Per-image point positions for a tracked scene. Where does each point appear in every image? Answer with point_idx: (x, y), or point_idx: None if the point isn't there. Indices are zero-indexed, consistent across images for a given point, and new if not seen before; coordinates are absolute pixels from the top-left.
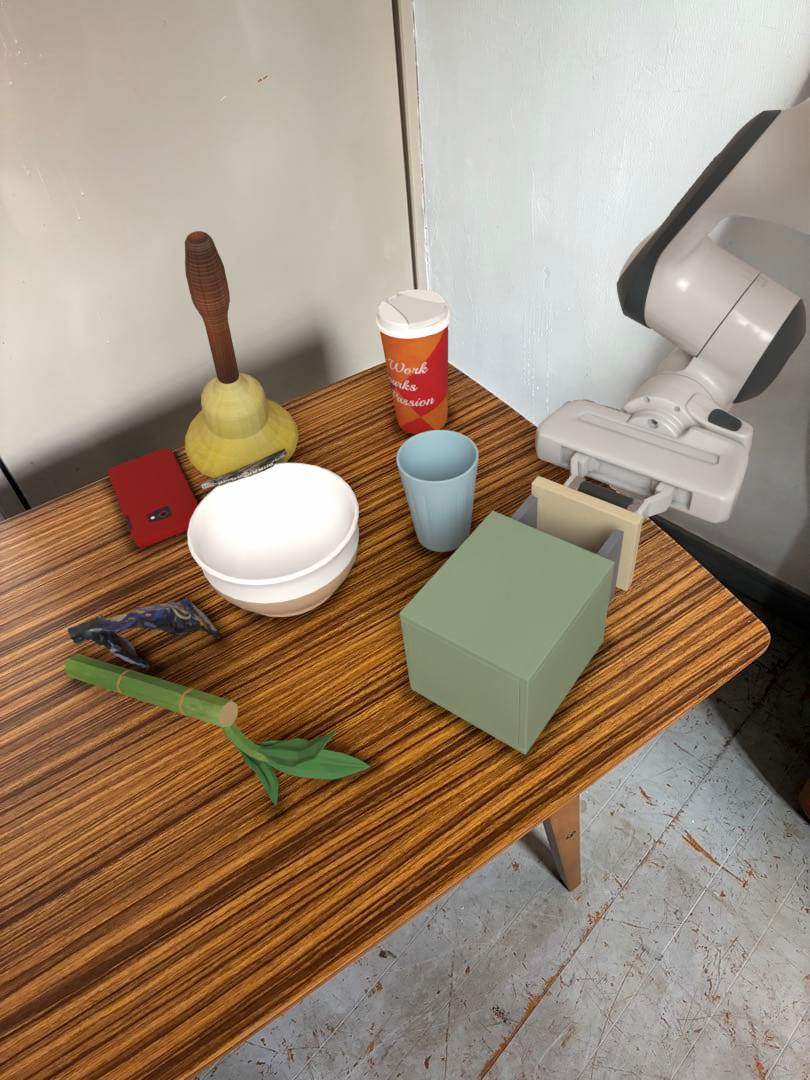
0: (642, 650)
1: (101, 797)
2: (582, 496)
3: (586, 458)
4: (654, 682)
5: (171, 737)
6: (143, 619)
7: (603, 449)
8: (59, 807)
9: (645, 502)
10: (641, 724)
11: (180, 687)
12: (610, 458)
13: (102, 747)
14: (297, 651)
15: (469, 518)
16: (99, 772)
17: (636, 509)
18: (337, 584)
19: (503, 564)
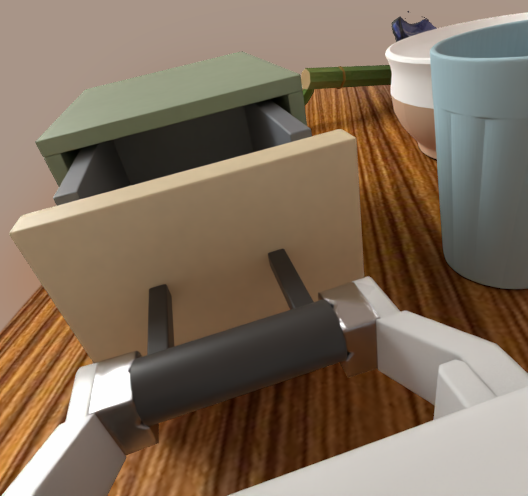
0: (69, 355)
1: (331, 96)
2: (201, 172)
3: (465, 398)
4: (38, 336)
5: (348, 108)
6: (400, 22)
7: (452, 458)
8: (339, 90)
9: (81, 410)
10: (42, 295)
11: (350, 69)
12: (360, 448)
13: (365, 94)
14: (373, 142)
15: (458, 221)
16: (348, 95)
17: (101, 364)
18: (404, 118)
19: (198, 81)
